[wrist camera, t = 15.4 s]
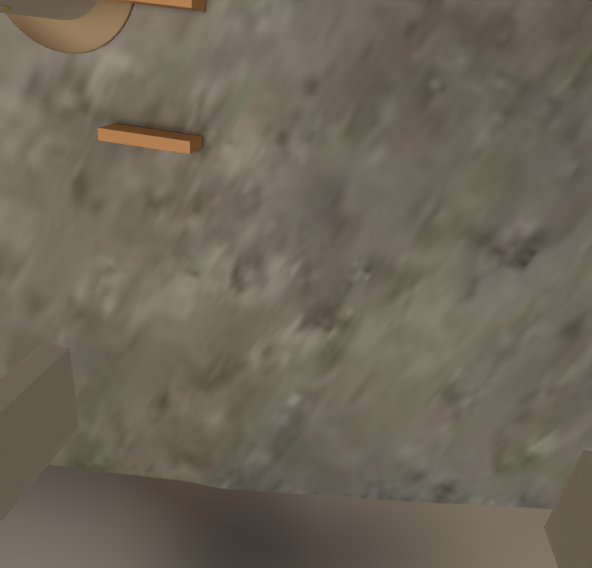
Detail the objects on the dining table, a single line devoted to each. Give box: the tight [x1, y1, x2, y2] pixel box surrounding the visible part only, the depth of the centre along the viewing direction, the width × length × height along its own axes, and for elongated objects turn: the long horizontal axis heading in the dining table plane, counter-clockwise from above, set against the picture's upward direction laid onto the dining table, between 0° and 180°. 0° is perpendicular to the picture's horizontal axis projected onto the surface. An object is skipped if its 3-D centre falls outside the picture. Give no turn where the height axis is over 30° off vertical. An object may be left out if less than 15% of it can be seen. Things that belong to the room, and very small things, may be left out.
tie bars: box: [98, 0, 206, 154], centre depth 38 cm, size 12×8×3 cm
